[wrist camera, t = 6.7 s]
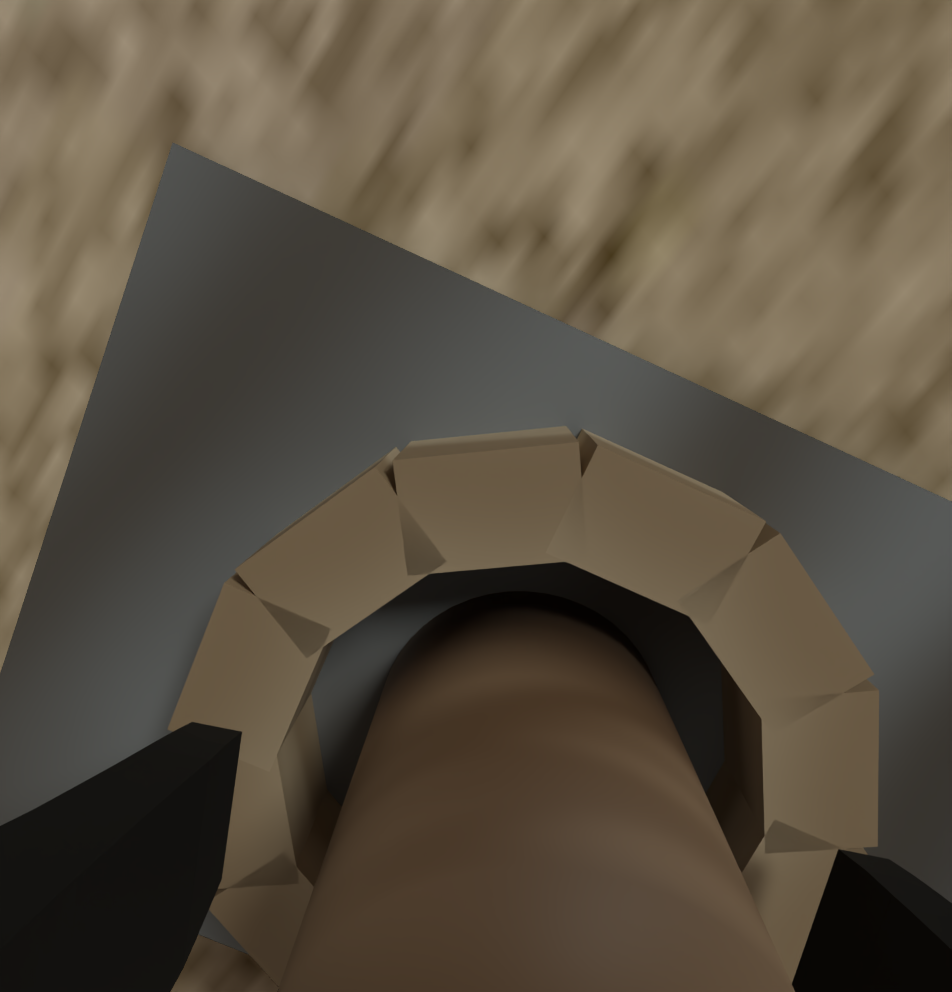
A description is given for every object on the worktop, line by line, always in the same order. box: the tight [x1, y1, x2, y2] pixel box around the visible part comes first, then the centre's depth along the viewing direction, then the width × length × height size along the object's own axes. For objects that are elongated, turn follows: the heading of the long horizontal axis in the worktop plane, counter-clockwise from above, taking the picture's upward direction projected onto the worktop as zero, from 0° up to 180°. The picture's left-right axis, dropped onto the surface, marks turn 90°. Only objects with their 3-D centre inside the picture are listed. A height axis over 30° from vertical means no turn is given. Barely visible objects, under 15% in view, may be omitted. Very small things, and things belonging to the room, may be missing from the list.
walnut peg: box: [278, 591, 795, 992], centre depth 9 cm, size 4×4×6 cm
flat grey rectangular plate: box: [0, 143, 952, 987], centre depth 11 cm, size 16×12×2 cm
